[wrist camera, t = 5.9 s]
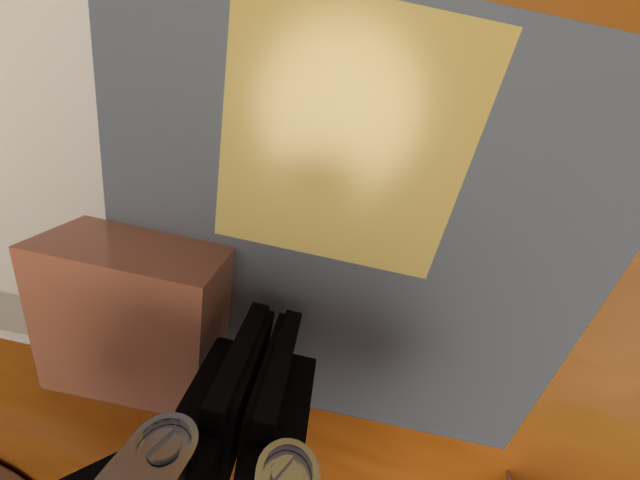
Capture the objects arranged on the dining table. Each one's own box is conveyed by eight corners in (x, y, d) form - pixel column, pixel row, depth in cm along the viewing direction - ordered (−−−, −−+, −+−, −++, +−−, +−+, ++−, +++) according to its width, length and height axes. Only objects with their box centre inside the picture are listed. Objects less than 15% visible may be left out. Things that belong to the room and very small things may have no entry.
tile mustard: (407, 237, 10) (425, 278, 7) (246, 202, 10) (214, 233, 7) (470, 50, 8) (522, 27, 5) (267, 7, 8) (232, -36, 5)
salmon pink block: (224, 362, 12) (195, 421, 10) (98, 334, 12) (40, 387, 10) (235, 247, 10) (202, 288, 8) (84, 215, 10) (8, 246, 8)
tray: (159, 327, 16) (126, 365, 13) (-18, 289, 16) (-81, 320, 13) (154, -54, 10) (95, -103, 7) (-130, -115, 10) (-277, -184, 7)
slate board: (476, 388, 16) (504, 449, 13) (158, 319, 16) (118, 365, 13) (650, 73, 10) (765, 61, 7) (155, -34, 10) (80, -88, 7)
